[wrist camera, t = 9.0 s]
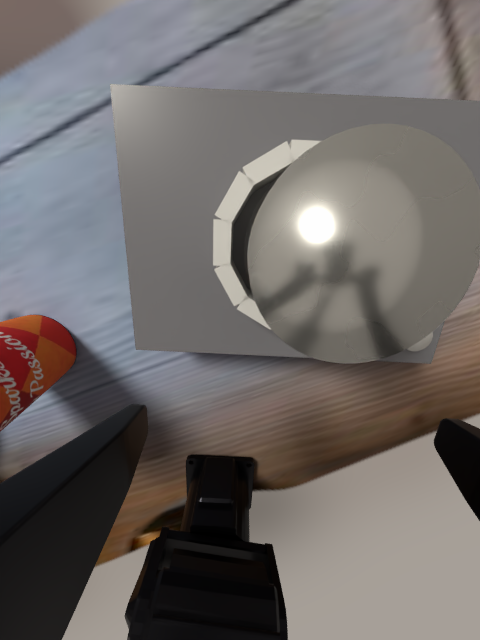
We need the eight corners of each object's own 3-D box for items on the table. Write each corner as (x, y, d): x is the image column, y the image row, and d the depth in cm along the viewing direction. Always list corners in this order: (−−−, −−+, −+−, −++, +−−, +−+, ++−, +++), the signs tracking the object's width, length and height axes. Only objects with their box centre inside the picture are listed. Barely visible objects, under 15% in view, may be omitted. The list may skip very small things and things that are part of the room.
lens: (338, 297, 14) (446, 371, 7) (242, 294, 14) (239, 362, 7) (356, 190, 12) (532, 122, 5) (246, 186, 12) (249, 112, 5)
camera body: (386, 333, 20) (457, 381, 13) (161, 322, 20) (120, 365, 13) (434, 142, 16) (569, 75, 9) (150, 129, 16) (82, 53, 9)
